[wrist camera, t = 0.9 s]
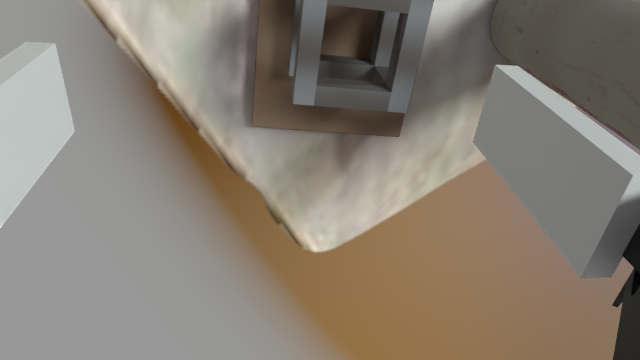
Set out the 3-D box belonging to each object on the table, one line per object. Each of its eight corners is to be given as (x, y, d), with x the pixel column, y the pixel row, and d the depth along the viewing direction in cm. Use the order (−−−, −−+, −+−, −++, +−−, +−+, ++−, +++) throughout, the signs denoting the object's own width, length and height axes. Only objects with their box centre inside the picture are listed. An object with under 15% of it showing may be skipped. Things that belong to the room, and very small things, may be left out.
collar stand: (267, -135, 33) (268, -142, 26) (452, -105, 35) (504, -104, 28) (252, 121, 43) (250, 170, 36) (396, 132, 46) (423, 180, 38)
